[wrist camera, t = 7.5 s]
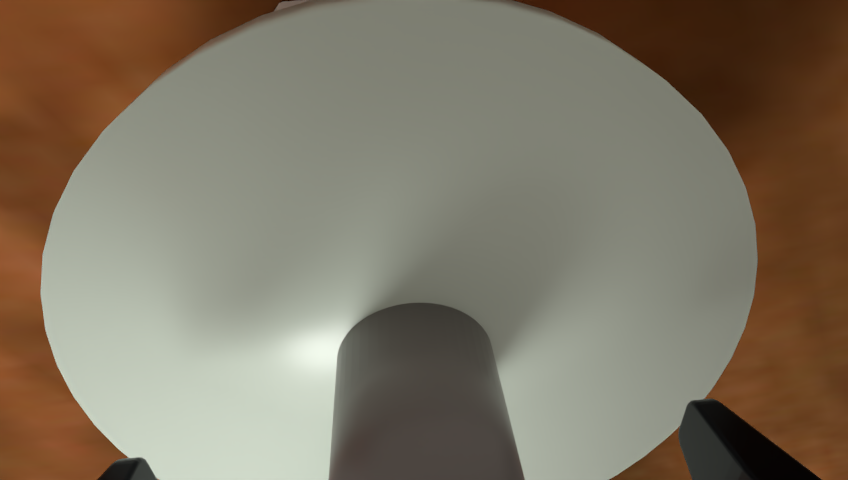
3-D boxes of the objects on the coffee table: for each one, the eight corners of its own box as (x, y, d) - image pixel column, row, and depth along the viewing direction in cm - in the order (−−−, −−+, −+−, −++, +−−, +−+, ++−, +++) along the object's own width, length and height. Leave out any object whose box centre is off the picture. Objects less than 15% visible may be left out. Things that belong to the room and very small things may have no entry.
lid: (662, 474, 15) (768, 698, 11) (191, 525, 15) (122, 777, 11) (826, -49, 8) (1308, 46, 4) (-93, 27, 8) (-641, 220, 3)
